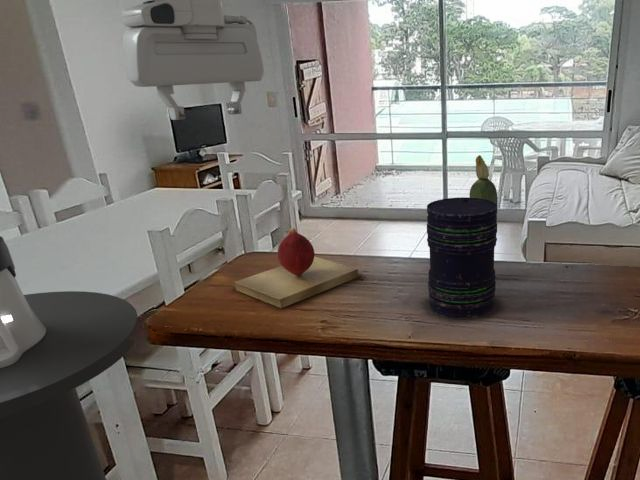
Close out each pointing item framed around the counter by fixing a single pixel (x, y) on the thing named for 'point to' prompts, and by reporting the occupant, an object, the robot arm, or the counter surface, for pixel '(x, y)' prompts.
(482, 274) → the storage jar
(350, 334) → the counter surface
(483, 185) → the vegetable
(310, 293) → the cutting board
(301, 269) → the onion
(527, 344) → the counter surface
